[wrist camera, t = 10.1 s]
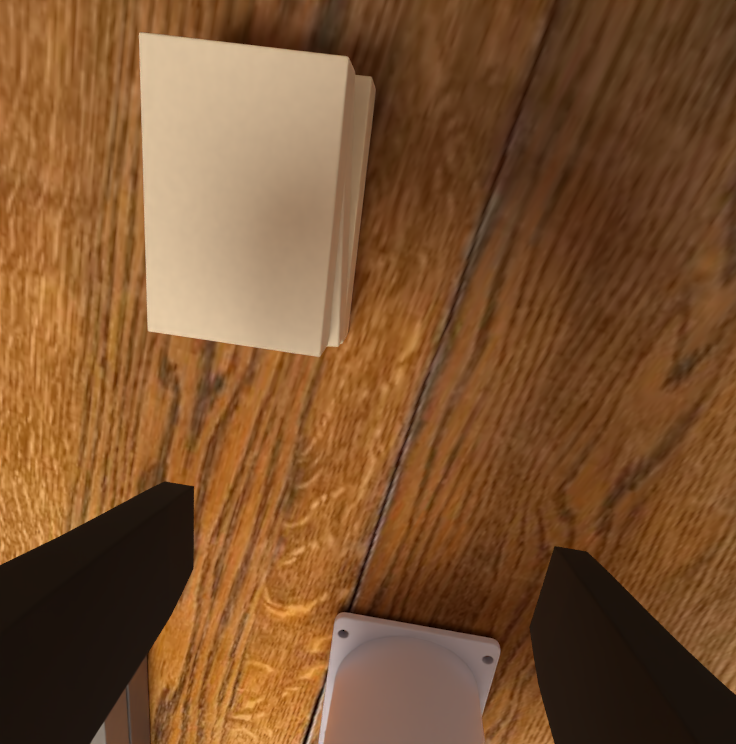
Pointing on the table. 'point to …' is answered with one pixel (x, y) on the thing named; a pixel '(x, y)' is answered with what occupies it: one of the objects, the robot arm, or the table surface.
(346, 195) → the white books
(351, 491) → the table surface
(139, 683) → the grey books
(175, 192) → the cream rectangular slab
